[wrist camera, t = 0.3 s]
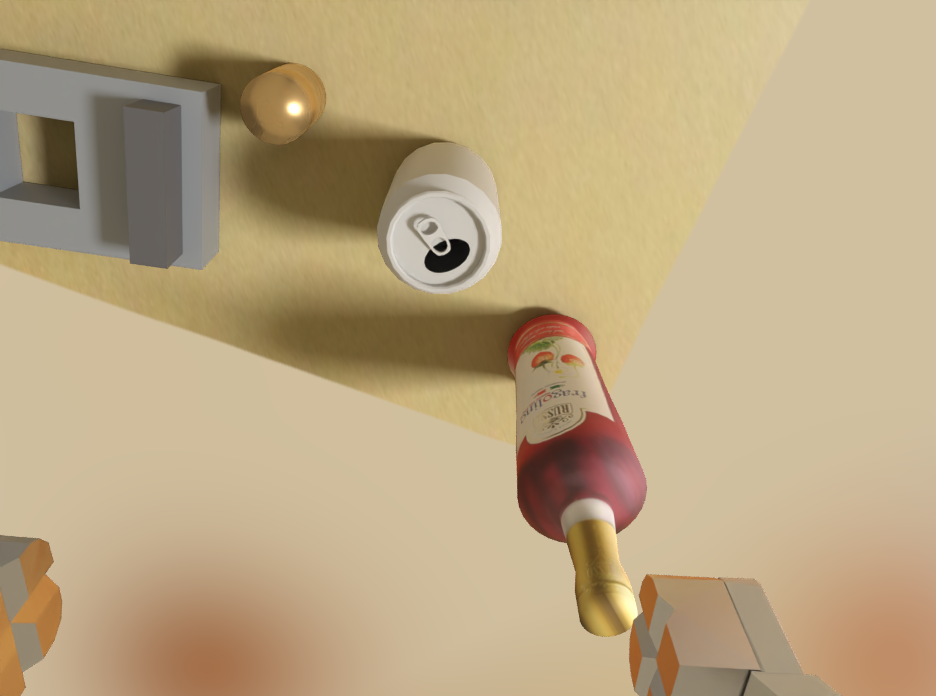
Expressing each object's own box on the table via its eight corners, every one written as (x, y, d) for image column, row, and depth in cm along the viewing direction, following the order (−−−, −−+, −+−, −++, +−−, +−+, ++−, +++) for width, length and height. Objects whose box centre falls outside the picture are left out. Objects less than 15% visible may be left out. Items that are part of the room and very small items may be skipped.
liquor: (574, 289, 58) (654, 530, 33) (611, 365, 61) (711, 640, 35) (488, 329, 59) (501, 589, 34) (528, 401, 62) (567, 690, 37)
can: (424, 259, 57) (414, 325, 46) (372, 171, 54) (348, 219, 43) (514, 213, 55) (525, 270, 44) (465, 119, 52) (464, 156, 41)
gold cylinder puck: (265, 58, 51) (240, 68, 45) (328, 68, 51) (311, 79, 45) (262, 122, 52) (239, 139, 47) (323, 131, 53) (307, 149, 47)
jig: (-24, 44, 50) (-94, 54, 44) (220, 84, 51) (185, 98, 45) (-3, 219, 55) (-63, 249, 49) (218, 251, 56) (187, 285, 50)
